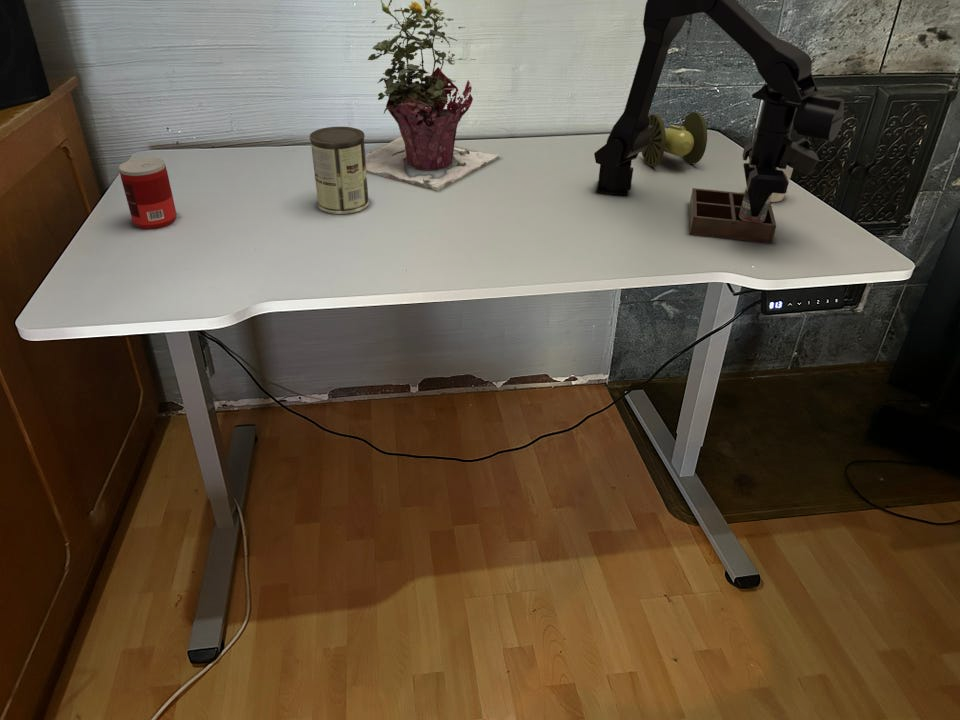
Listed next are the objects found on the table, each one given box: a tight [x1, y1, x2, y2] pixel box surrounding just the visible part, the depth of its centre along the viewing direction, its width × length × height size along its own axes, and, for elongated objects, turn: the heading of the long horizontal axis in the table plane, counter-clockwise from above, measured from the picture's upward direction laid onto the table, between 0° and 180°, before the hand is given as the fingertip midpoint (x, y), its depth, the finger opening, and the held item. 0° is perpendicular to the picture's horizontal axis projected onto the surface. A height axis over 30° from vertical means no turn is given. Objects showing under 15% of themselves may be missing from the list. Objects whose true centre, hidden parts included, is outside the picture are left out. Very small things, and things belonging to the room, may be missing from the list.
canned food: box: [118, 156, 177, 230], centre depth 138 cm, size 8×8×11 cm
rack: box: [688, 187, 777, 245], centre depth 145 cm, size 15×15×4 cm
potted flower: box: [365, 0, 500, 192], centre depth 161 cm, size 27×25×35 cm
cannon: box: [641, 111, 708, 167], centre depth 174 cm, size 25×12×11 cm, turn 13°
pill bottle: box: [739, 185, 772, 223], centre depth 138 cm, size 5×5×8 cm
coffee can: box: [309, 126, 370, 215], centre depth 145 cm, size 10×10×14 cm
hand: (753, 211), depth 140 cm, fingers closed on pill bottle, 5 cm apart
